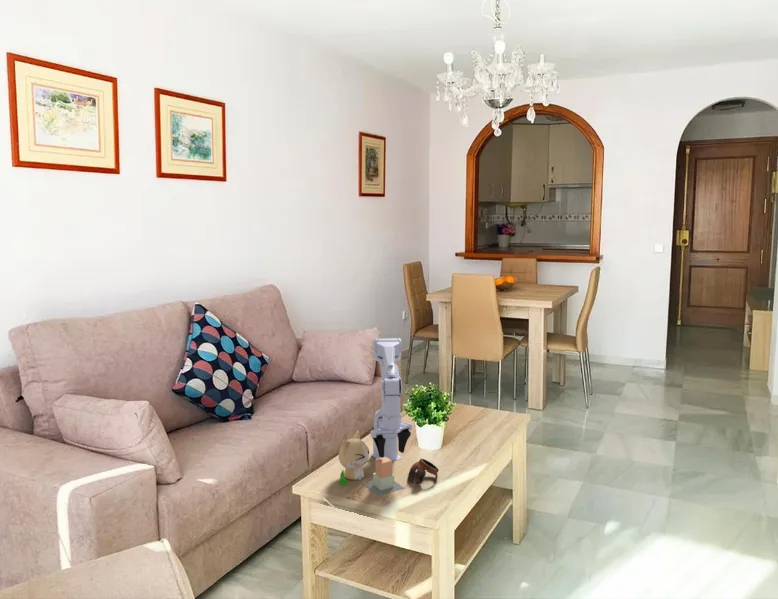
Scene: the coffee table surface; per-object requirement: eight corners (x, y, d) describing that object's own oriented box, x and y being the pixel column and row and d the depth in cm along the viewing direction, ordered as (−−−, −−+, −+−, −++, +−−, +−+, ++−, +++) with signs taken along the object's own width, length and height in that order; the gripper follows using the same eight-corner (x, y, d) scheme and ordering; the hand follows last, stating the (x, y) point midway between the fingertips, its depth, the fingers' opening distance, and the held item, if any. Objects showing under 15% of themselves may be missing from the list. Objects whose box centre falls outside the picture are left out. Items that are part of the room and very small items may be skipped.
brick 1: (375, 473, 211) (375, 459, 210) (385, 471, 213) (385, 456, 212) (381, 478, 208) (381, 463, 207) (392, 475, 210) (392, 460, 209)
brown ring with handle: (407, 475, 222) (419, 454, 222) (431, 490, 219) (443, 469, 219) (401, 481, 210) (413, 459, 210) (426, 497, 208) (439, 475, 208)
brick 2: (373, 484, 212) (372, 473, 211) (386, 481, 215) (386, 469, 214) (380, 490, 208) (380, 478, 207) (394, 487, 210) (394, 475, 210)
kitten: (355, 490, 209) (355, 445, 207) (328, 484, 214) (328, 440, 211) (376, 473, 222) (376, 431, 220) (351, 467, 227) (351, 426, 225)
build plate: (362, 485, 213) (362, 483, 213) (388, 478, 218) (388, 477, 218) (378, 496, 204) (378, 495, 204) (404, 489, 210) (404, 488, 210)
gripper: (378, 421, 203) (378, 462, 205) (416, 414, 211) (416, 453, 213) (367, 415, 209) (367, 455, 211) (405, 408, 217) (405, 446, 219)
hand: (391, 454), depth 212 cm, fingers open, 7 cm apart
